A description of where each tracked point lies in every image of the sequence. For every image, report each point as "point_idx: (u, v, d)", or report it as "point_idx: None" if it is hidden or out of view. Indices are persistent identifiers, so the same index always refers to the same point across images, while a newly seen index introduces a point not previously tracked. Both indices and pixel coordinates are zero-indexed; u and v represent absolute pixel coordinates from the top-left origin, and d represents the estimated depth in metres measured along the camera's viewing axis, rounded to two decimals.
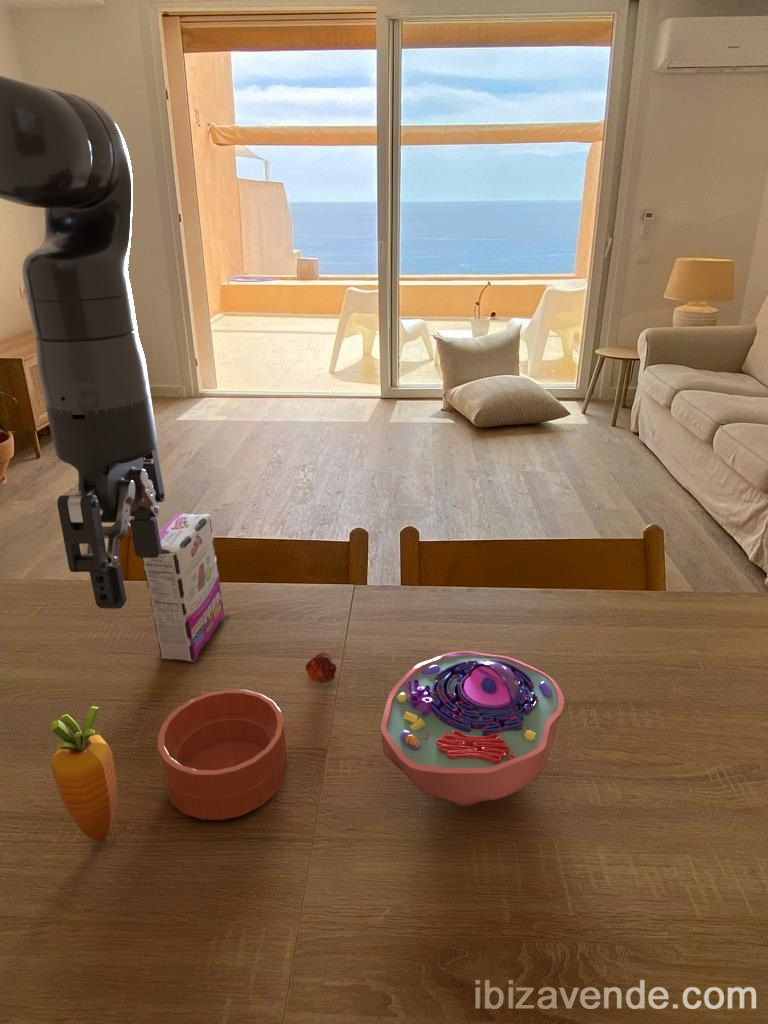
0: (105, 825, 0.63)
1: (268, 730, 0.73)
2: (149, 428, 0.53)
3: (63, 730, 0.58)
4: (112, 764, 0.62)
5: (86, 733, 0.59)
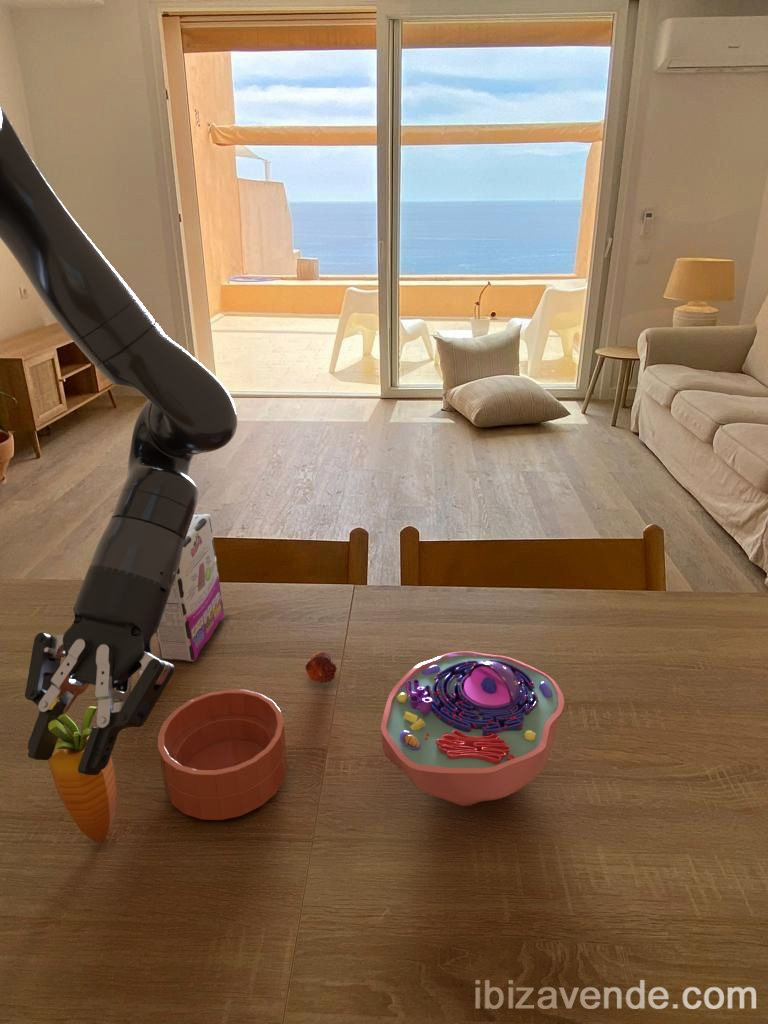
0: (105, 825, 0.63)
1: (268, 730, 0.73)
2: None
3: (60, 730, 0.58)
4: (111, 764, 0.62)
5: (84, 733, 0.59)
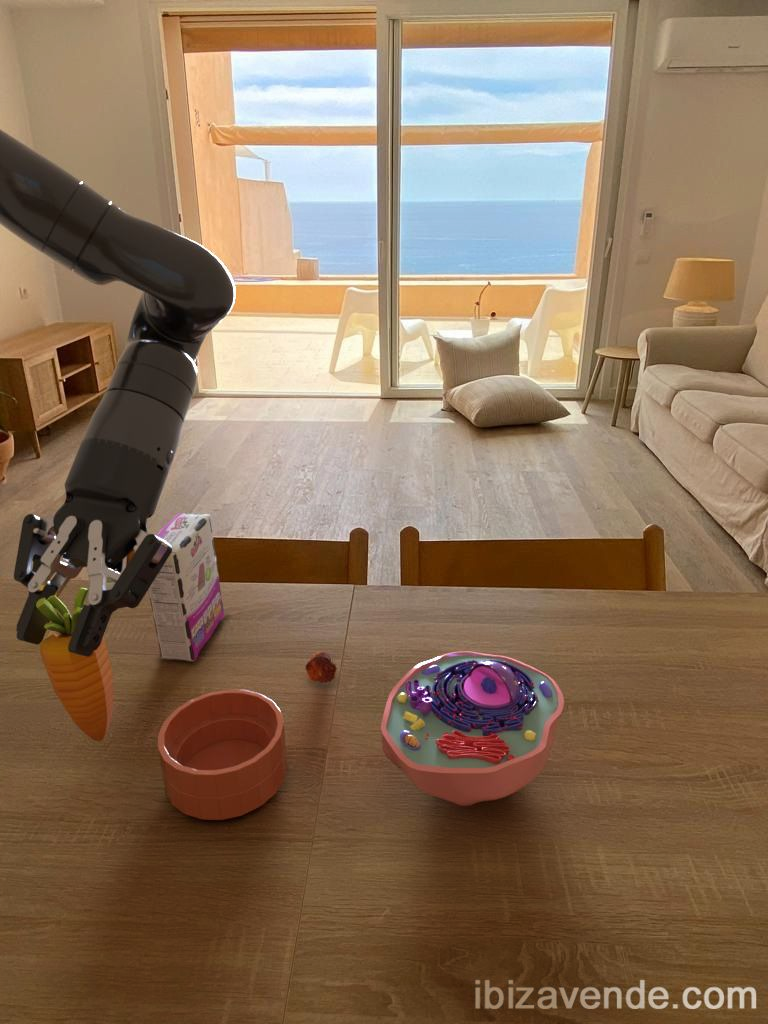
0: (102, 720, 0.59)
1: (268, 730, 0.73)
2: None
3: (50, 609, 0.55)
4: (106, 652, 0.58)
5: (74, 612, 0.55)
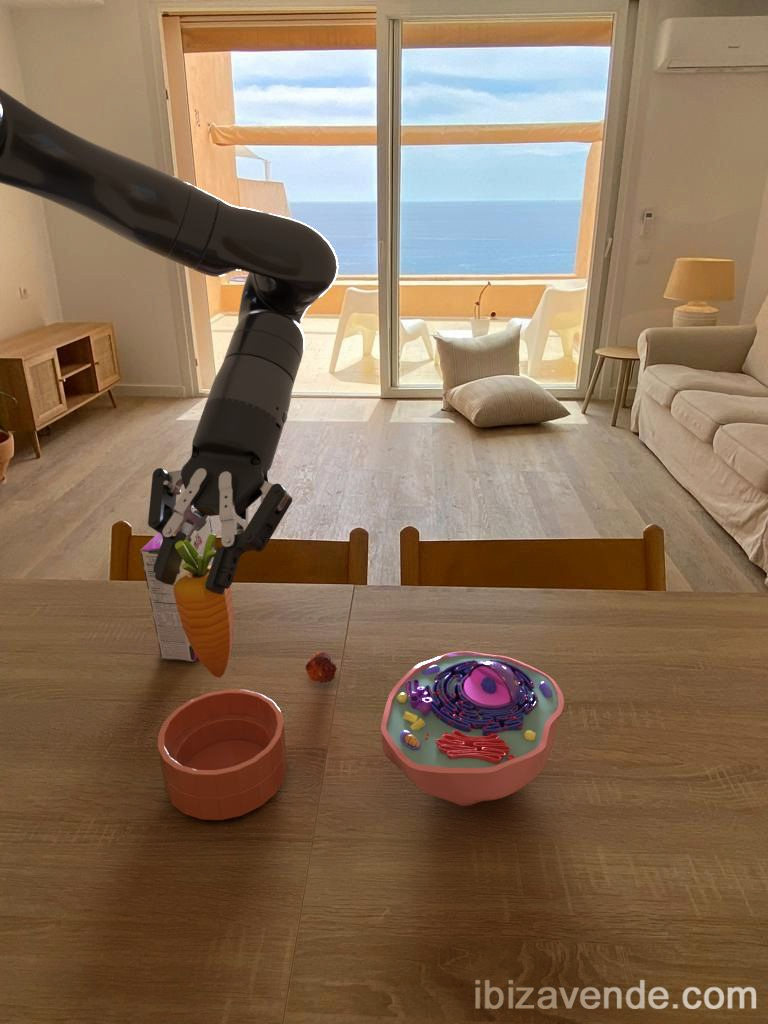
0: (225, 656, 0.65)
1: (268, 730, 0.73)
2: None
3: (186, 551, 0.60)
4: (230, 593, 0.64)
5: (208, 554, 0.60)
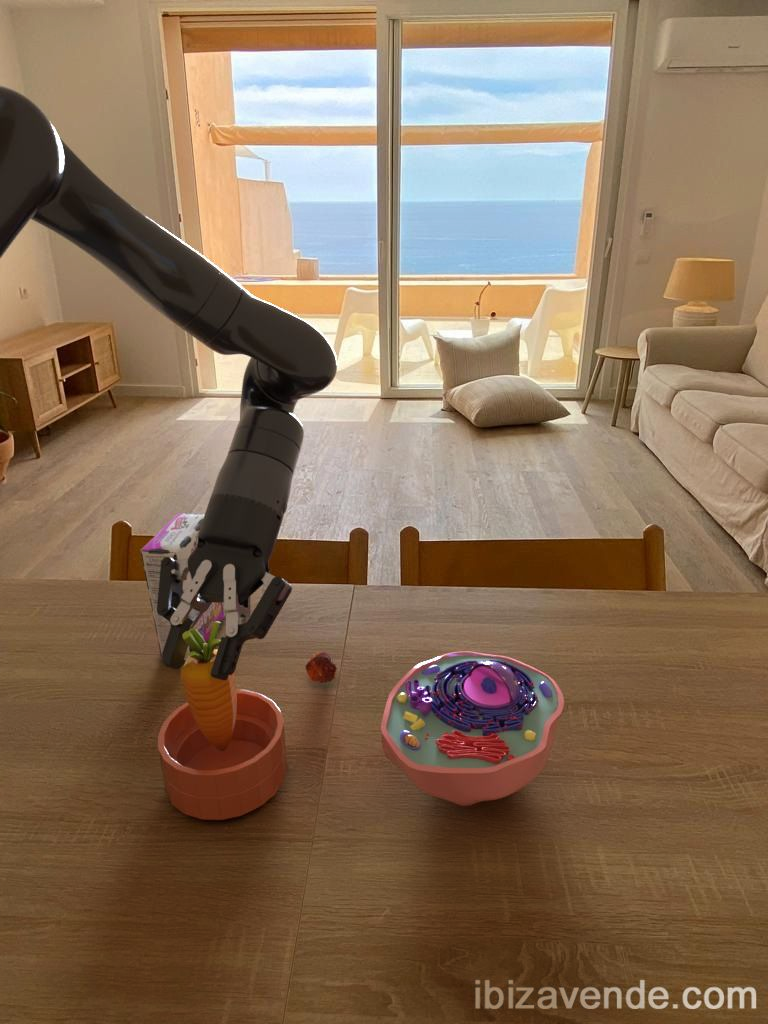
0: (228, 733, 0.69)
1: (268, 730, 0.73)
2: None
3: (193, 640, 0.65)
4: (233, 675, 0.68)
5: (213, 642, 0.65)
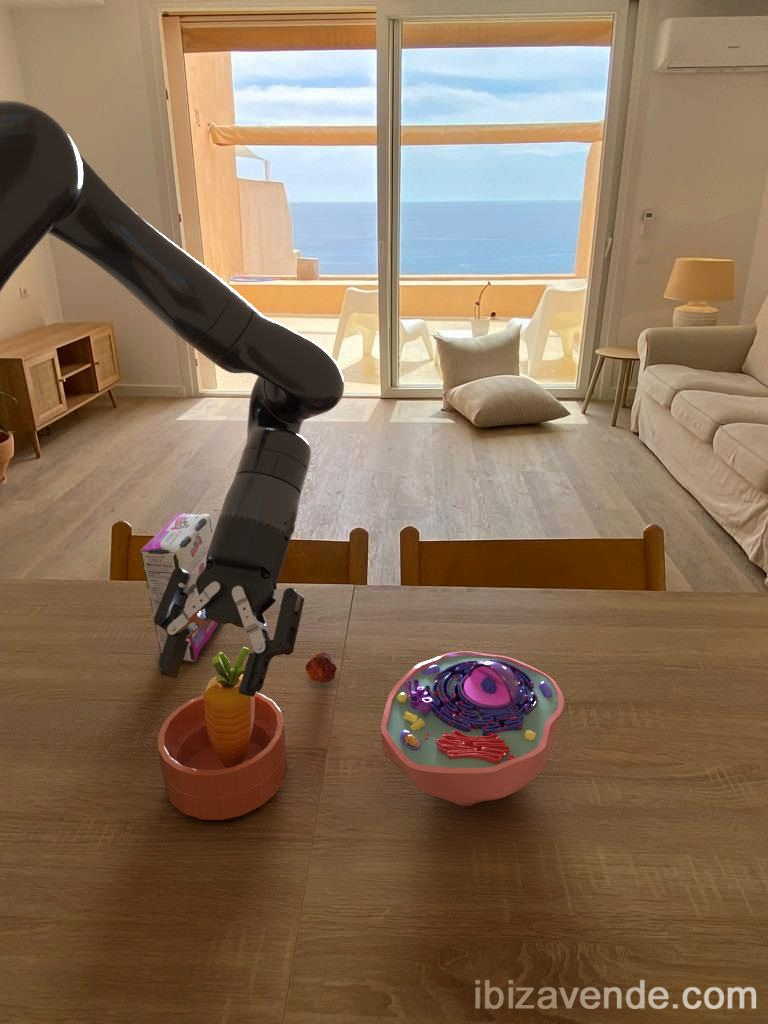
0: (242, 757, 0.70)
1: (268, 730, 0.73)
2: None
3: (221, 665, 0.65)
4: (254, 701, 0.69)
5: (241, 669, 0.65)
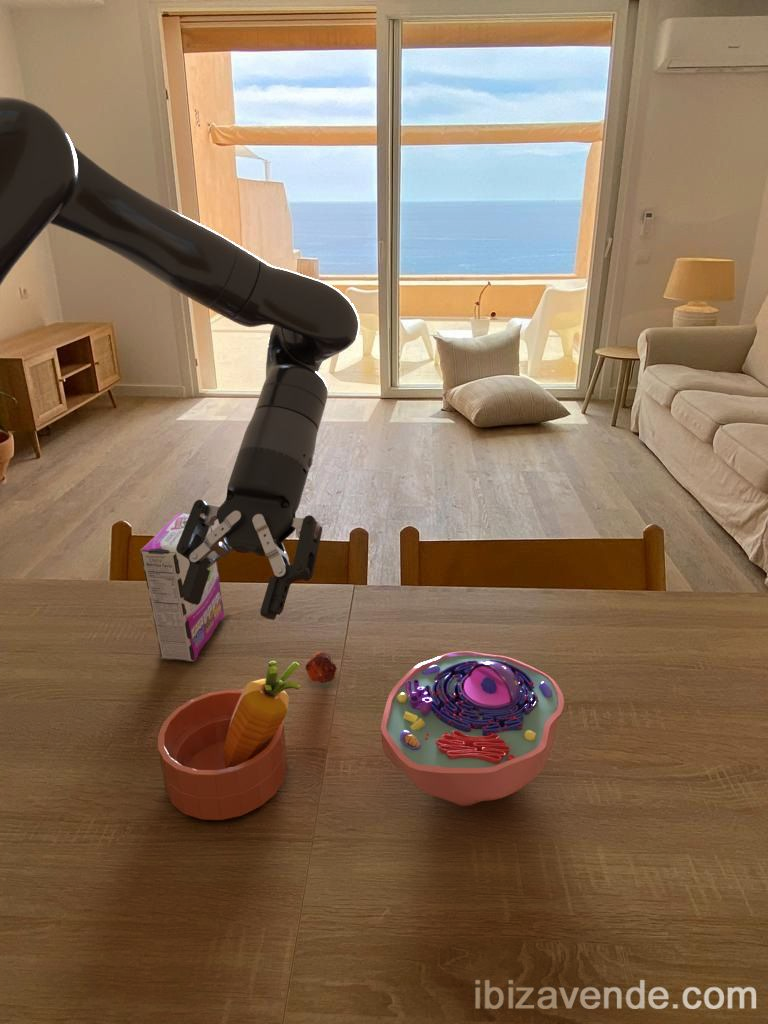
0: None
1: None
2: None
3: (275, 676, 0.65)
4: None
5: (292, 685, 0.66)
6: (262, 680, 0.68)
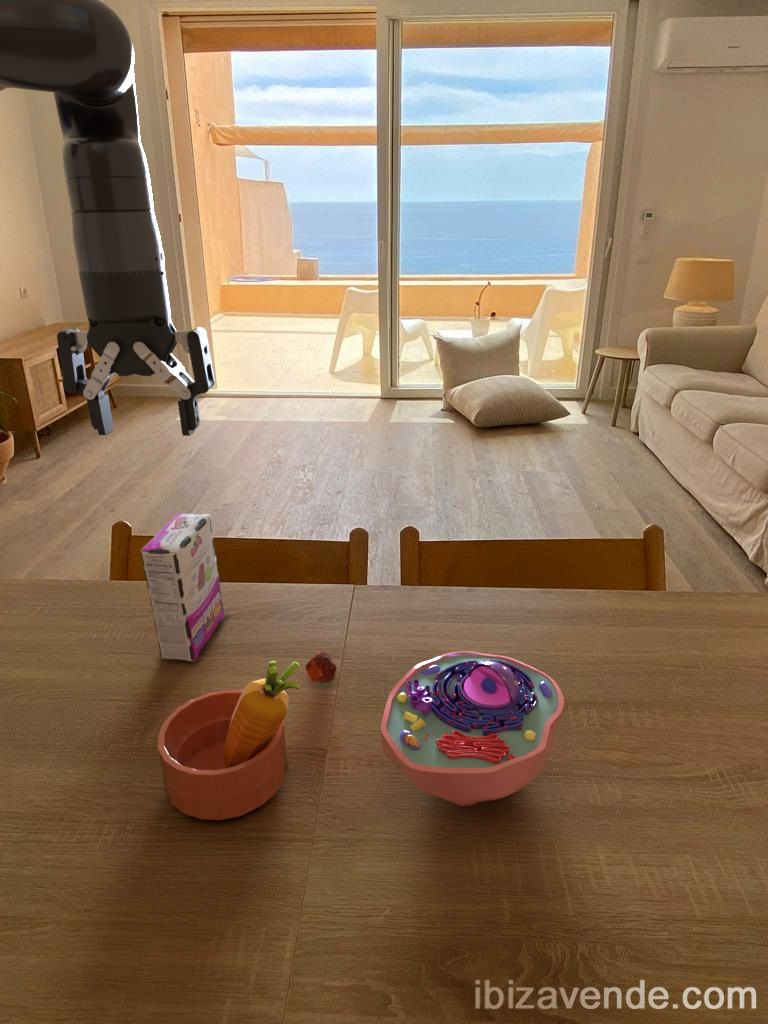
0: None
1: None
2: None
3: (275, 676, 0.65)
4: None
5: (292, 685, 0.66)
6: (262, 680, 0.68)
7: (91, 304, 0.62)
